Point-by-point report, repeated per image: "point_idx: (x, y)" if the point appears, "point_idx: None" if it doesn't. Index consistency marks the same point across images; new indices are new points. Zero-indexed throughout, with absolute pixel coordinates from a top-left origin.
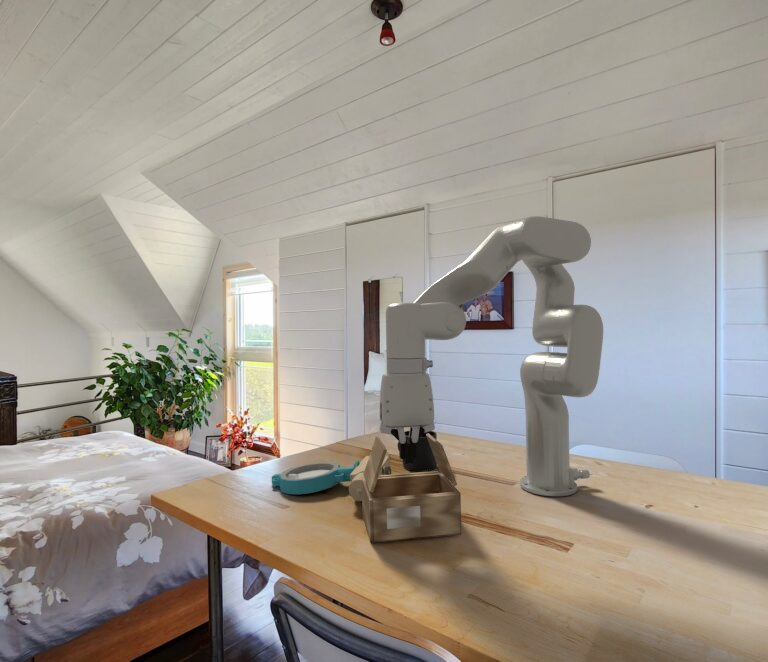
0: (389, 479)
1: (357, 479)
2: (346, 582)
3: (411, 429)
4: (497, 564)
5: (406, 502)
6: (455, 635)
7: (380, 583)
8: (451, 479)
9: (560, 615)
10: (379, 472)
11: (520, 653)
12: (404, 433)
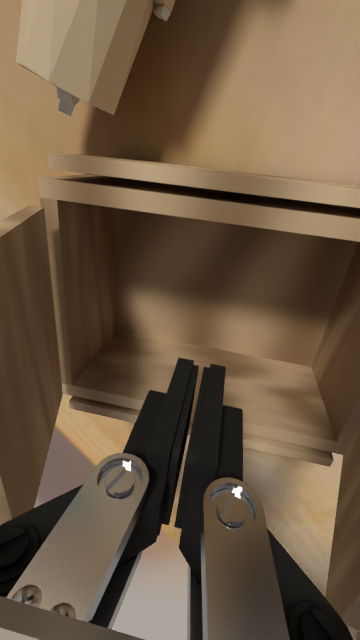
0: (163, 214)
1: (35, 65)
2: (61, 421)
3: (216, 607)
4: (303, 474)
5: None
6: (166, 531)
7: (107, 441)
8: (345, 464)
9: (293, 559)
10: (47, 448)
11: None
12: (113, 618)
